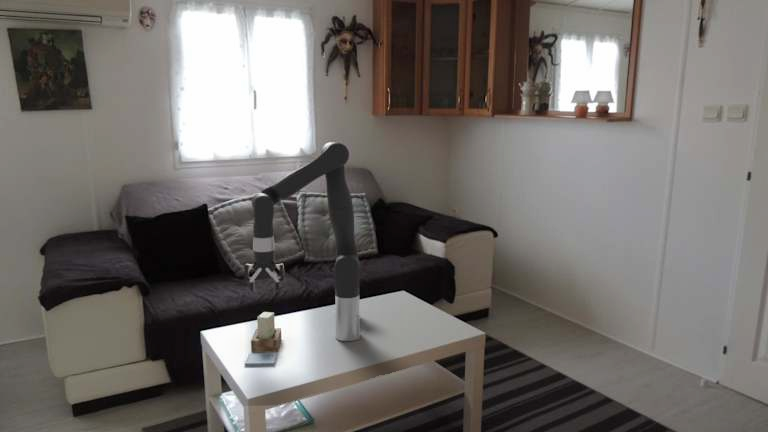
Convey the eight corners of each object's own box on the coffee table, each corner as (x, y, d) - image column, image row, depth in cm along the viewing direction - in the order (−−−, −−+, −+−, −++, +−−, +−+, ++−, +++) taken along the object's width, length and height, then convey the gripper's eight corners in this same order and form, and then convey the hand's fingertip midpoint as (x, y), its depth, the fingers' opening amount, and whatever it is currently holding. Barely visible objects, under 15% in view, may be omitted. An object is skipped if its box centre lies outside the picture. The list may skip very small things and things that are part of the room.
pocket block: (281, 339, 215) (281, 328, 214) (277, 351, 204) (277, 340, 203) (256, 339, 214) (256, 328, 214) (251, 352, 203) (250, 340, 202)
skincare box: (269, 349, 206) (268, 318, 203) (257, 348, 206) (256, 317, 204) (275, 342, 212) (274, 312, 209) (264, 341, 212) (263, 311, 210)
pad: (277, 355, 200) (277, 353, 200) (274, 365, 193) (274, 363, 192) (248, 356, 200) (248, 353, 200) (244, 366, 192) (244, 363, 192)
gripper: (285, 245, 206) (285, 288, 209) (245, 246, 205) (247, 288, 208) (282, 251, 199) (283, 294, 202) (241, 251, 198) (243, 295, 201)
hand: (265, 291), depth 205 cm, fingers open, 8 cm apart
